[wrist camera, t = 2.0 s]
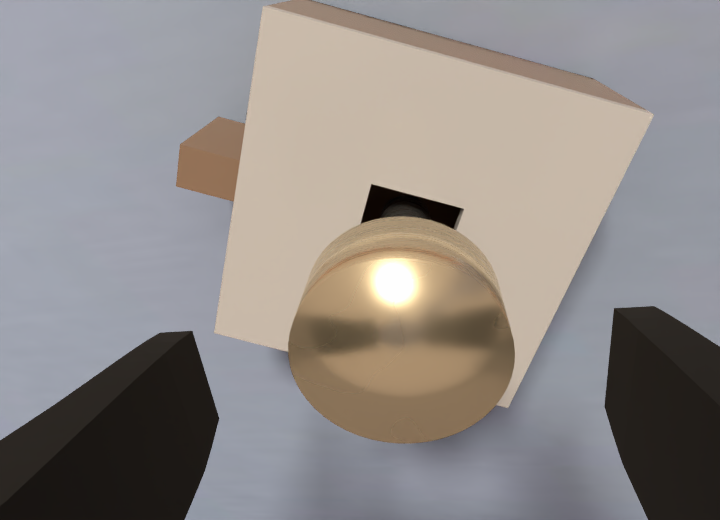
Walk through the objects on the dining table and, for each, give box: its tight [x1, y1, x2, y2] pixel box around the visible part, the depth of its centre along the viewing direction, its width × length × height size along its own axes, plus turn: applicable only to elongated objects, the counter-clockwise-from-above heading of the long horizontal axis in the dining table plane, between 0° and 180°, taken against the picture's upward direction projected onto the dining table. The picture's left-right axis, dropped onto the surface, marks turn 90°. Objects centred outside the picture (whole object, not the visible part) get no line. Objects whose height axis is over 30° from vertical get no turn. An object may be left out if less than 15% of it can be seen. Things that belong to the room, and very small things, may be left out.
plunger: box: [288, 195, 515, 443], centre depth 13 cm, size 4×4×6 cm
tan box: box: [176, 0, 654, 408], centre depth 16 cm, size 11×9×5 cm
